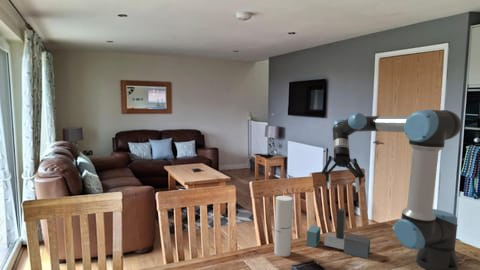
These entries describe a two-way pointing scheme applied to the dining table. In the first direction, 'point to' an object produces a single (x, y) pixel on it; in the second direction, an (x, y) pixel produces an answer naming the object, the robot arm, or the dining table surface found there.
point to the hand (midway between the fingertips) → (343, 190)
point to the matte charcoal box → (357, 245)
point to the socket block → (313, 236)
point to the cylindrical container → (283, 226)
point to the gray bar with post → (337, 232)
